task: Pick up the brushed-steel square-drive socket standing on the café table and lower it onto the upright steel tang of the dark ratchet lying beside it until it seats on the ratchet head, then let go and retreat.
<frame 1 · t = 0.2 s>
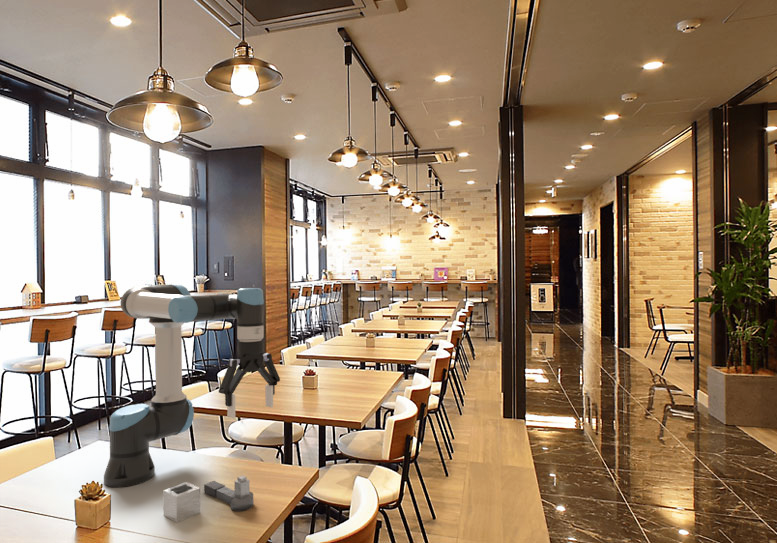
hand: (251, 411, 143), 27 cm above the table, fingers open, 13 cm apart
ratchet: (242, 506, 141), on the table
socket: (181, 513, 137), on the table
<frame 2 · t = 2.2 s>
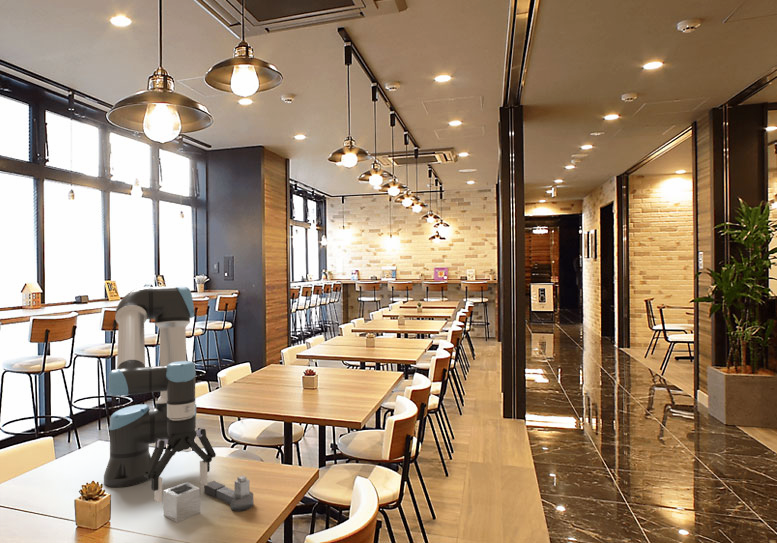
hand: (181, 492, 137), 6 cm above the table, fingers open, 13 cm apart
nothing on the table moved.
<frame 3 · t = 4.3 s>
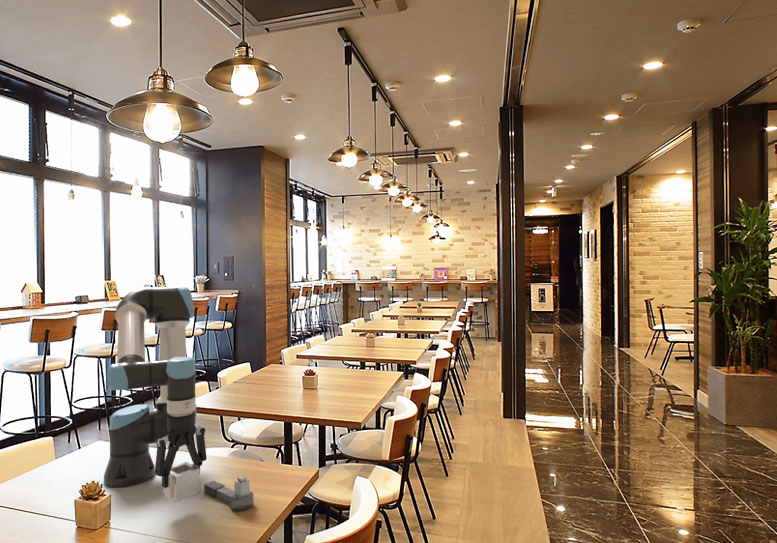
hand: (181, 492, 138), 6 cm above the table, fingers closed on socket, 7 cm apart
socket: (181, 493, 138), point 5 cm above the table, touching gripper
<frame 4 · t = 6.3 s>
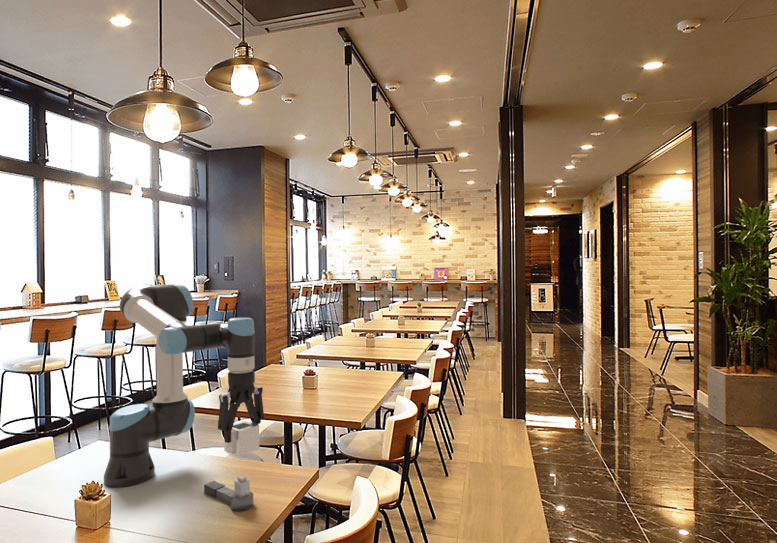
hand: (241, 448, 141), 17 cm above the table, fingers closed on socket, 7 cm apart
socket: (241, 449, 141), point 16 cm above the table, touching gripper
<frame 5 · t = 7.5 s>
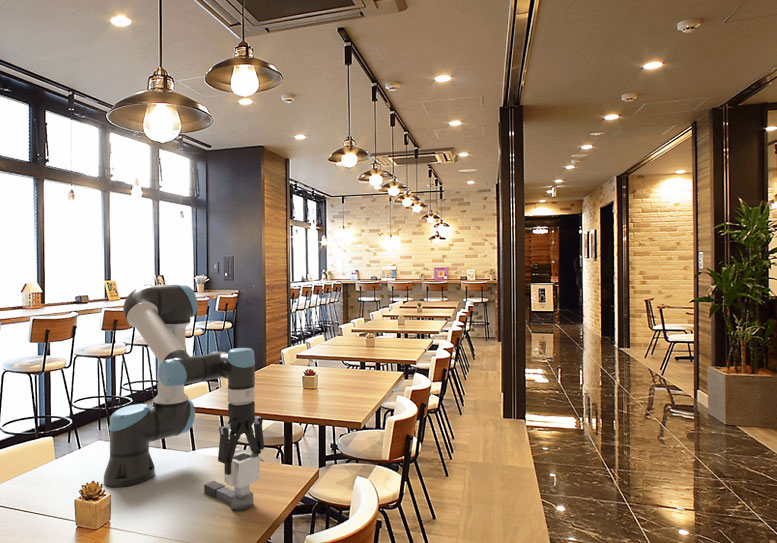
hand: (242, 479, 141), 8 cm above the table, fingers closed on socket, 7 cm apart
socket: (242, 480, 141), point 7 cm above the table, touching gripper
when the fingers open (4 cm above the table, at t = 8.5 s): socket stays where it is, resting on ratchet.
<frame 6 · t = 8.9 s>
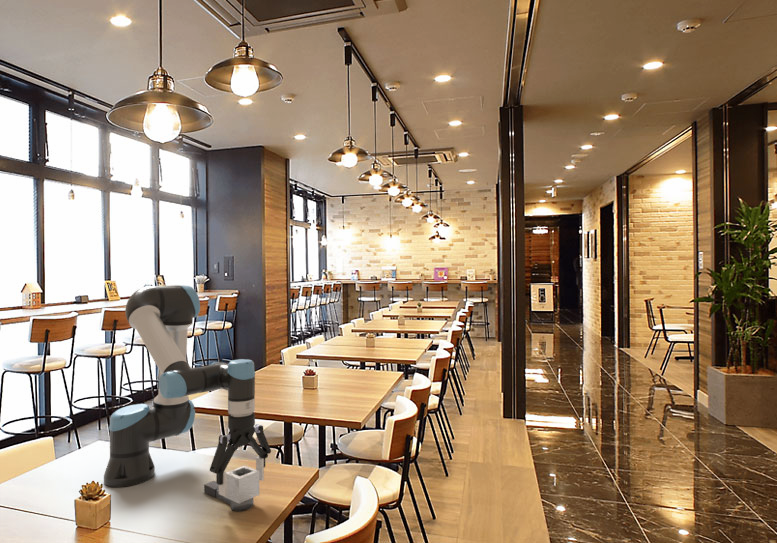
hand: (242, 486, 141), 6 cm above the table, fingers open, 12 cm apart
socket: (242, 495, 141), point 3 cm above the table, touching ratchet
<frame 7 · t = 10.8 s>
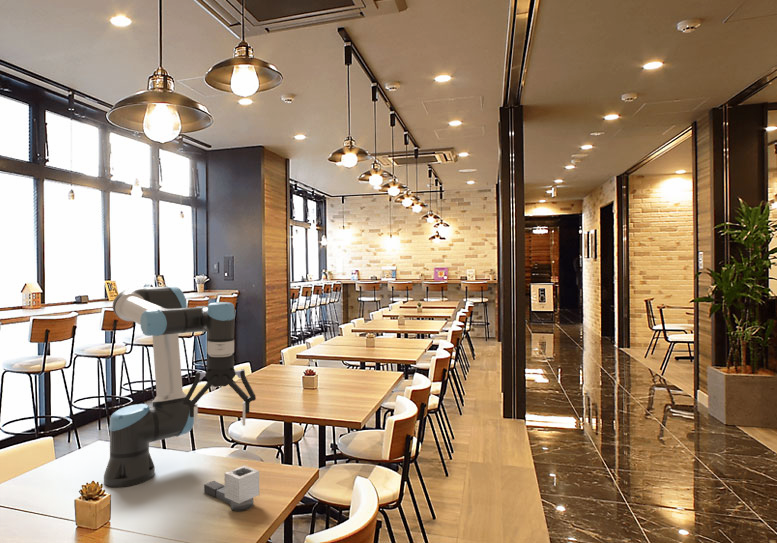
hand: (220, 425, 143), 23 cm above the table, fingers open, 13 cm apart
nothing on the table moved.
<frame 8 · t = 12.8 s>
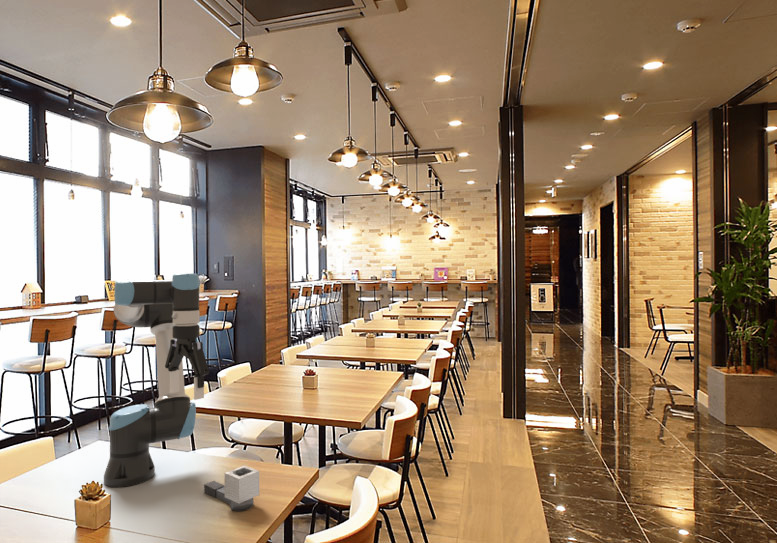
hand: (186, 395, 145), 32 cm above the table, fingers open, 13 cm apart
nothing on the table moved.
at the end: socket 0.0 cm off-centre on the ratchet, point 3.0 cm above the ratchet's base; socket tilted 0°; the gripper is holding nothing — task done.
